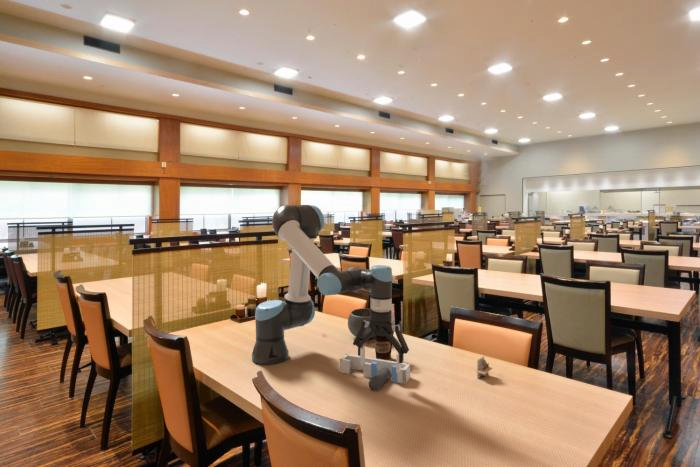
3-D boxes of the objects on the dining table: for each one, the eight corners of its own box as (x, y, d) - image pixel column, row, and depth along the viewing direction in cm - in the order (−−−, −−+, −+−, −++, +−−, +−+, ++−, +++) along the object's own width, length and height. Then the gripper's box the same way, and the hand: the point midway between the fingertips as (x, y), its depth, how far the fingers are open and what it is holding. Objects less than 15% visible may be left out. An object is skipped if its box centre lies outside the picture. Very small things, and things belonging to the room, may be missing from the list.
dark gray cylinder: (380, 390, 135) (377, 379, 136) (370, 391, 137) (366, 380, 137) (391, 377, 146) (388, 366, 147) (381, 378, 148) (379, 367, 148)
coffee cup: (392, 363, 160) (392, 331, 160) (372, 362, 162) (372, 330, 161) (394, 355, 169) (394, 325, 168) (375, 354, 171) (375, 324, 170)
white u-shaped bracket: (339, 372, 152) (339, 358, 152) (346, 366, 158) (346, 352, 158) (405, 384, 141) (405, 368, 141) (410, 377, 147) (410, 362, 147)
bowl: (390, 335, 196) (391, 310, 196) (373, 346, 181) (373, 318, 180) (360, 329, 206) (360, 305, 205) (340, 339, 191) (340, 313, 190)
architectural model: (492, 377, 148) (492, 357, 148) (484, 383, 143) (485, 363, 142) (483, 375, 150) (484, 355, 150) (475, 380, 145) (476, 360, 145)
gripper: (344, 308, 142) (343, 365, 143) (412, 316, 132) (411, 378, 133) (352, 303, 149) (352, 358, 150) (418, 311, 139) (417, 370, 140)
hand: (380, 368), depth 142 cm, fingers open, 13 cm apart
